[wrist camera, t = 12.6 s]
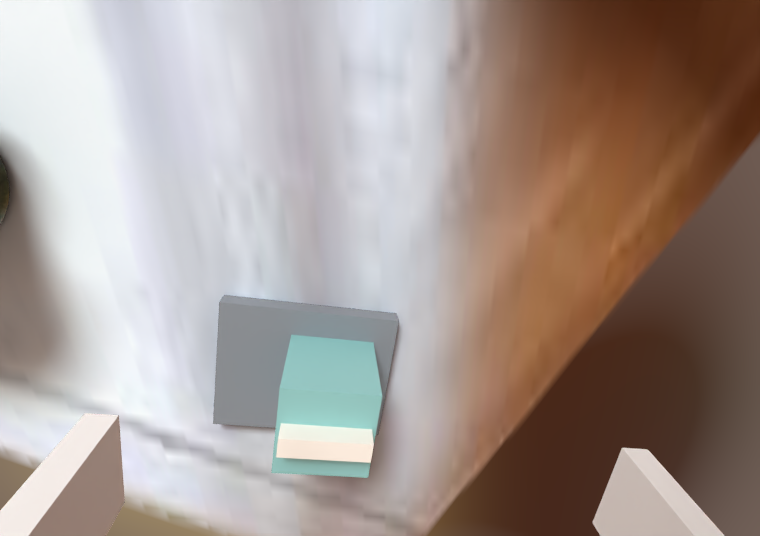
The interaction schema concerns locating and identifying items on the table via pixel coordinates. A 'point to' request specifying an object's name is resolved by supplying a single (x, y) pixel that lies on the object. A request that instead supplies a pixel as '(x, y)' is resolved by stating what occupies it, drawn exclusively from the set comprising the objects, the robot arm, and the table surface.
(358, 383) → the teal cube with ledge
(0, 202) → the mug
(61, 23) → the table surface
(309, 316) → the post board
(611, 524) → the robot arm
